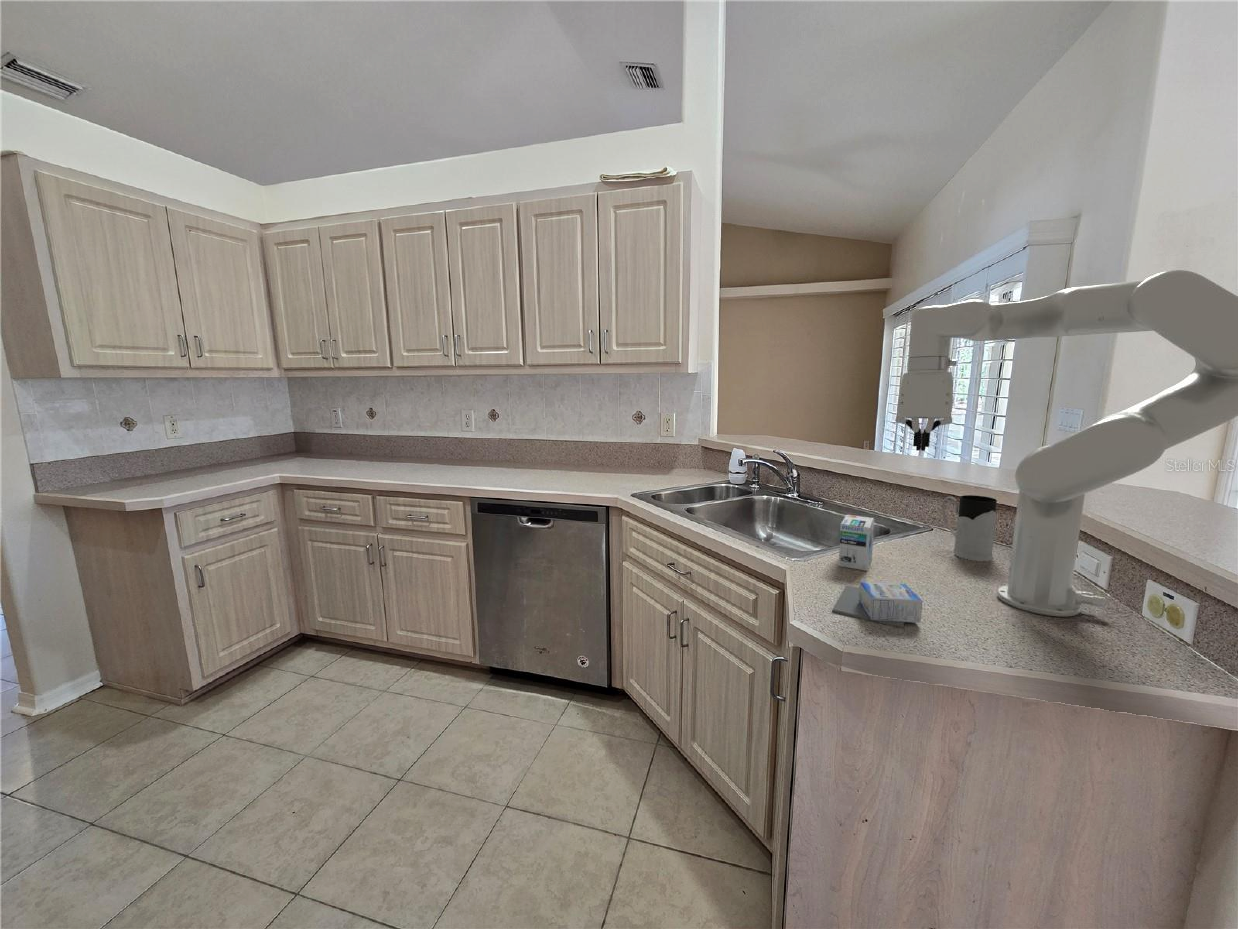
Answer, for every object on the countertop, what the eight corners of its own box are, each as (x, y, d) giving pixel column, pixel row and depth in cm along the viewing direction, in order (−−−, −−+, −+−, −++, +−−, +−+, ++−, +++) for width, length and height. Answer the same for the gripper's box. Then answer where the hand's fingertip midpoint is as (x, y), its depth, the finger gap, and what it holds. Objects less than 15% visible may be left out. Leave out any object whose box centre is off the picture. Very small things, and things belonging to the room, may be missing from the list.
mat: (909, 600, 100) (909, 598, 99) (903, 628, 88) (903, 625, 88) (845, 587, 106) (846, 585, 106) (832, 611, 95) (832, 609, 95)
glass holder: (974, 563, 120) (980, 503, 118) (926, 545, 134) (930, 491, 131) (1002, 559, 122) (1009, 501, 120) (952, 542, 136) (957, 489, 133)
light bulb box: (868, 572, 115) (871, 527, 114) (837, 566, 119) (839, 523, 117) (872, 558, 124) (875, 517, 123) (843, 554, 128) (846, 513, 126)
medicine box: (923, 600, 88) (871, 597, 90) (921, 624, 89) (870, 620, 90) (906, 583, 96) (859, 580, 97) (904, 605, 96) (857, 602, 98)
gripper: (969, 365, 105) (961, 450, 108) (890, 367, 113) (884, 446, 116) (970, 364, 99) (961, 454, 101) (886, 366, 107) (880, 450, 110)
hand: (920, 449), depth 109 cm, fingers closed
